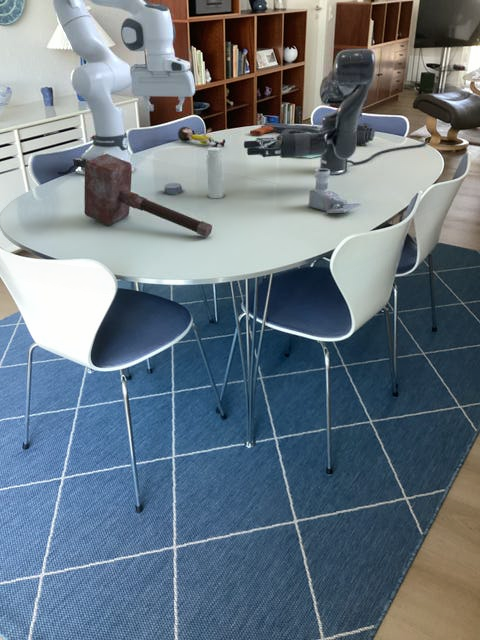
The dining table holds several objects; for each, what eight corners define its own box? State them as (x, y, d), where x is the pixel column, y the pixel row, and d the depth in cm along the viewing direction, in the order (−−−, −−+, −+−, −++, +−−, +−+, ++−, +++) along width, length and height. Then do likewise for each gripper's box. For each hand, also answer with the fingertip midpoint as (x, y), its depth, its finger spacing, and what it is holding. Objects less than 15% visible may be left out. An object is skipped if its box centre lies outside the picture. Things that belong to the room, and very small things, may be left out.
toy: (345, 120, 249) (377, 123, 242) (343, 139, 253) (375, 143, 246) (337, 123, 243) (369, 127, 236) (336, 143, 247) (367, 147, 240)
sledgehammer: (221, 197, 152) (105, 152, 164) (203, 207, 145) (83, 159, 156) (213, 251, 162) (103, 205, 174) (195, 264, 155) (82, 215, 166)
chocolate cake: (332, 145, 241) (326, 158, 224) (294, 164, 249) (286, 177, 233) (317, 113, 235) (310, 124, 219) (279, 133, 244) (269, 145, 228)
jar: (205, 196, 187) (203, 149, 179) (215, 192, 190) (213, 146, 182) (216, 199, 184) (213, 151, 176) (226, 195, 187) (224, 148, 179)
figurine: (211, 139, 238) (170, 125, 250) (210, 157, 242) (170, 142, 255) (230, 134, 247) (190, 120, 259) (229, 150, 251) (189, 136, 263)
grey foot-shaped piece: (322, 165, 173) (363, 174, 165) (319, 201, 179) (359, 212, 171) (305, 171, 168) (347, 180, 159) (303, 208, 174) (344, 219, 165)
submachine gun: (243, 132, 260) (267, 122, 278) (243, 138, 261) (267, 127, 280) (305, 138, 246) (326, 127, 265) (305, 144, 248) (326, 133, 266)
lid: (162, 194, 190) (161, 187, 189) (168, 188, 195) (168, 182, 194) (178, 195, 189) (177, 188, 188) (184, 189, 194) (184, 183, 192)
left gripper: (125, 65, 171) (131, 112, 178) (189, 65, 167) (192, 113, 174) (132, 63, 176) (137, 108, 183) (195, 62, 172) (197, 109, 179)
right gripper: (290, 128, 186) (242, 131, 185) (299, 139, 174) (248, 141, 173) (289, 151, 190) (243, 153, 189) (298, 163, 178) (248, 165, 177)
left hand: (165, 111), depth 178 cm, fingers open, 8 cm apart
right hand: (245, 148), depth 181 cm, fingers open, 8 cm apart
